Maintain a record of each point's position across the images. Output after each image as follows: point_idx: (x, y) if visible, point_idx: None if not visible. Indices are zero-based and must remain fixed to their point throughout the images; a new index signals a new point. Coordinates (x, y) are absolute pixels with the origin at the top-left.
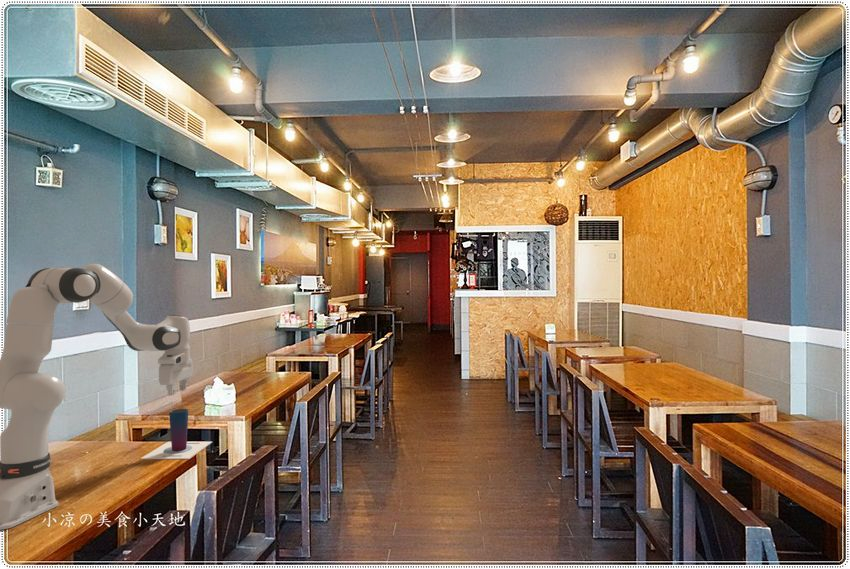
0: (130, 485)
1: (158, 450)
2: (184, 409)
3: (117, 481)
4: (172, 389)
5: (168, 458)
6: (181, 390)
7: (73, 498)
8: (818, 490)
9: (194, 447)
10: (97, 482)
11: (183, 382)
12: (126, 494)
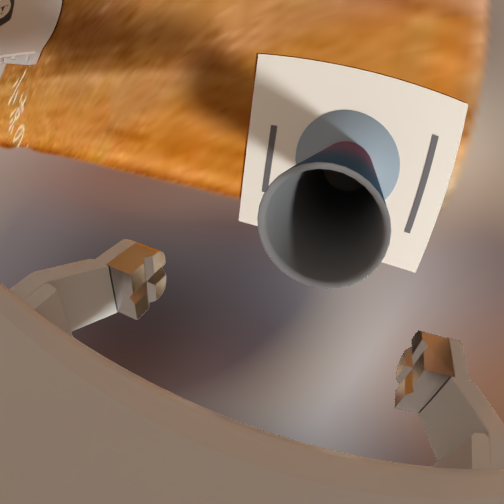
0: (87, 133)
1: (350, 87)
2: (373, 257)
3: (102, 90)
4: (90, 313)
5: (246, 153)
6: (413, 338)
7: (51, 64)
8: None
9: None
10: (101, 48)
11: (456, 431)
12: (61, 149)
